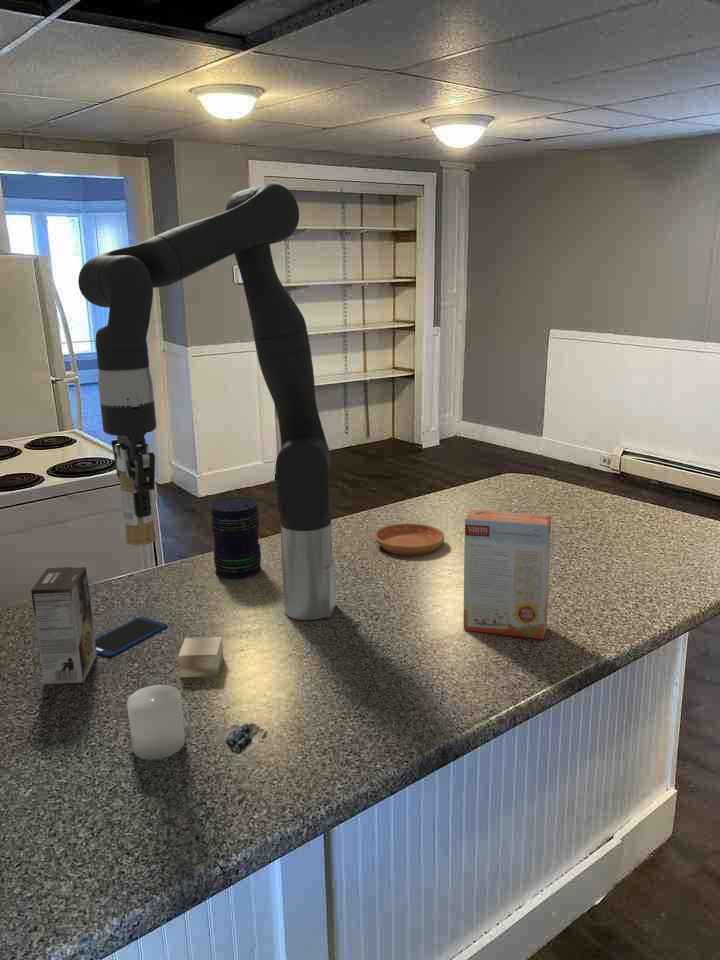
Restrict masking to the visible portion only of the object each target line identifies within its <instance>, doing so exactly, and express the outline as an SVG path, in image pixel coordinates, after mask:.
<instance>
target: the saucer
mask: <svg viewBox="0 0 720 960" xmlns="http://www.w3.org/2000/svg"><path fill="white" fill-rule="evenodd" d="M374 541H375V542H376V543H377V544H378V546H379V547H381V548H382V549H383V550H385V551H386V552H388V553H391V554H396V555H400V556H401V555H402V556H418V555H419V556H420V555H424V554H428V553H431V552H434V551H435V550H436V549H438V548H439V547H440V546H441V545H442V544H444V541H445V533H444V532H443V531H442V530H441V529H438V528H436V527H434V526H431V525H426V524H420V523H397V524H391V525H386V526H383V527H380V528H379V529H377V530H375V533H374Z"/></svg>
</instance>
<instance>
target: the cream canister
mask: <svg viewBox="0 0 720 960" xmlns="http://www.w3.org/2000/svg"><path fill="white" fill-rule="evenodd" d="M126 705H127V706H126V707H127V714H128V724H129V733H130V741H131V742H130V744H131V751H132V753H133V755H135V756H136V757H138V758H139V759H144V760H147V761H149V760H150V761H151V760H152V761H153V760H161V759H165V758H168V757H170V756H172V755H175V754H176V753H177V752H179V751H181V749H182V748H183V747H184V746H185V744H186V743H185V742H186V738H185V735H186V734H185V726H184V715H183V713H184V712H183V701H182V693H181V691H180V689H178V687H175V686H172V685H169V684H155V685H154V684H153V685H149V686H145V687H142V688H140V689H137V690H136V691H134V692H133V693H131V695H129V697H128V698H127V700H126Z"/></svg>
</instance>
